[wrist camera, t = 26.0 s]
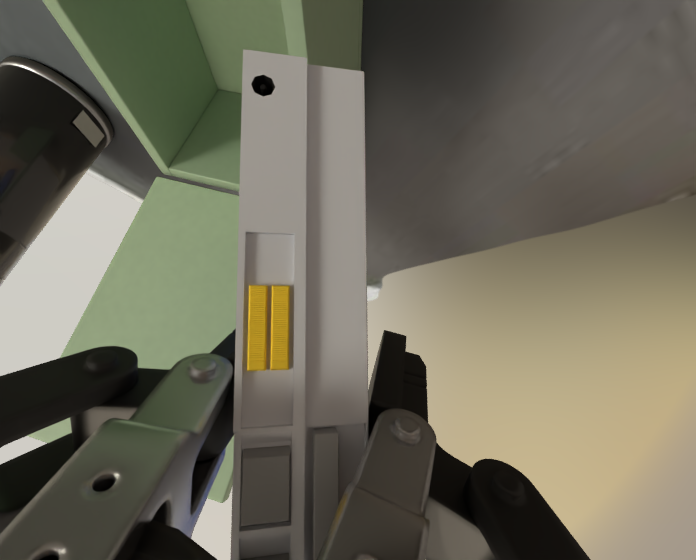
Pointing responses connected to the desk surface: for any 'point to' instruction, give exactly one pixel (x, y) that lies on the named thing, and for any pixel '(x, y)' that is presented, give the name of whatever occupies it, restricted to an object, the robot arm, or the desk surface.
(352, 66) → the bin
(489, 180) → the desk surface
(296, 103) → the walkman
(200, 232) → the lid
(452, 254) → the desk surface
